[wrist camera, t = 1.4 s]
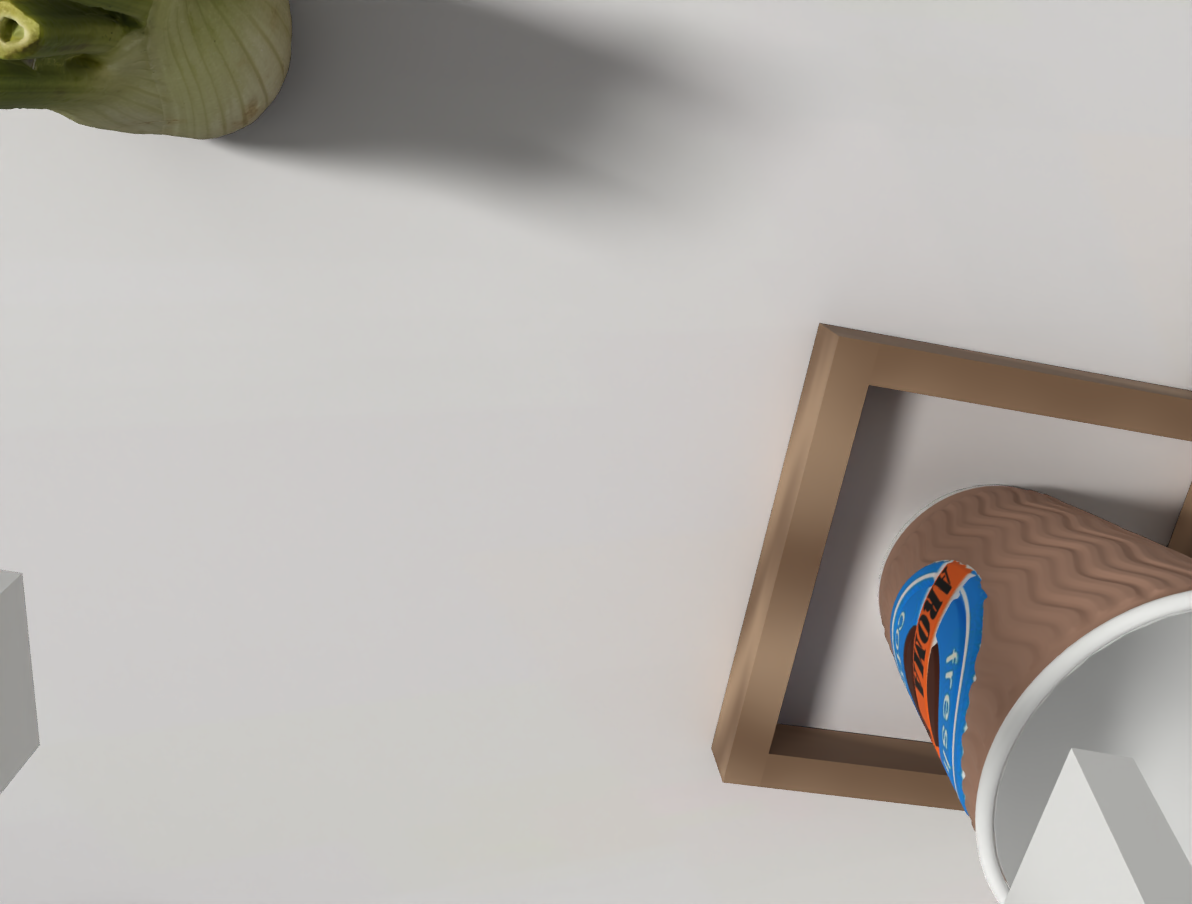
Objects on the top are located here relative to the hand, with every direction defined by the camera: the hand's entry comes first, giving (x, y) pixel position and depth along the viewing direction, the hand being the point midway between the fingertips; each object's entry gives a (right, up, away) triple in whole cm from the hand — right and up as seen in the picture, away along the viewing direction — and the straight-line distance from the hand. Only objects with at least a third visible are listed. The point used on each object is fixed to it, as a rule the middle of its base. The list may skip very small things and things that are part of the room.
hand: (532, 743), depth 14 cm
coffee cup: (+14, -1, +23) cm, 26 cm away
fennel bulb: (-10, +15, +16) cm, 24 cm away
